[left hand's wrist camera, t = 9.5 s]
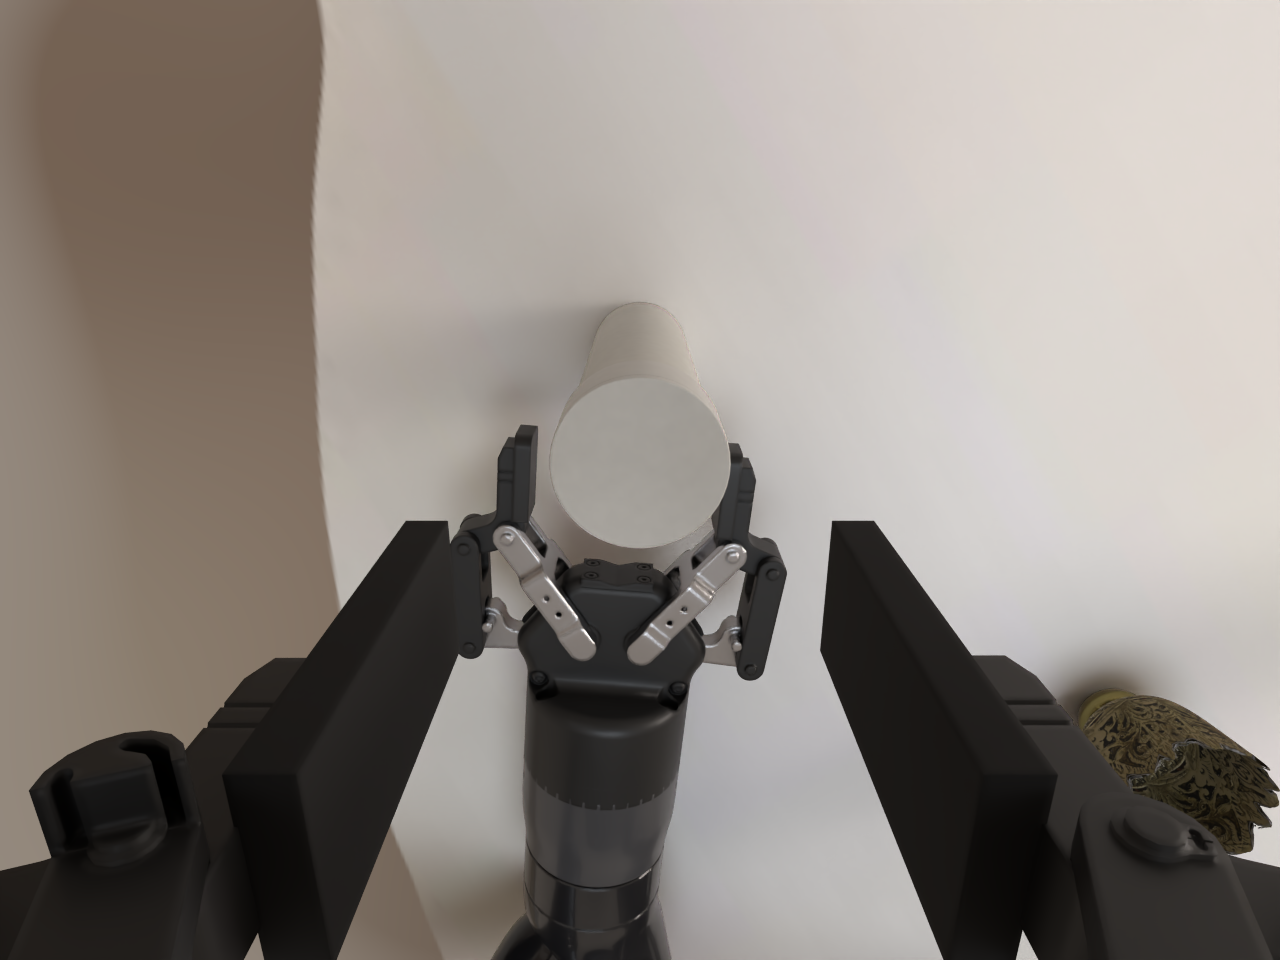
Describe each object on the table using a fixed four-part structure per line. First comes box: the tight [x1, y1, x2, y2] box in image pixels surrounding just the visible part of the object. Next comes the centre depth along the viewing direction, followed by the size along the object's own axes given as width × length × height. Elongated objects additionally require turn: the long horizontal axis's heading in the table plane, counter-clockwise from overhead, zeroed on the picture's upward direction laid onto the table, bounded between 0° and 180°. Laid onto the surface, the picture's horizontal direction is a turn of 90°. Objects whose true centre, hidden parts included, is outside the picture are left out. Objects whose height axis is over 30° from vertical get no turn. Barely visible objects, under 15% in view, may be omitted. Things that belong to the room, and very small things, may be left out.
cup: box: [1078, 688, 1280, 855], centre depth 40 cm, size 8×7×8 cm
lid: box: [550, 360, 731, 548], centre depth 22 cm, size 5×5×2 cm
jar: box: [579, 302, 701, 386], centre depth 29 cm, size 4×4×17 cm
